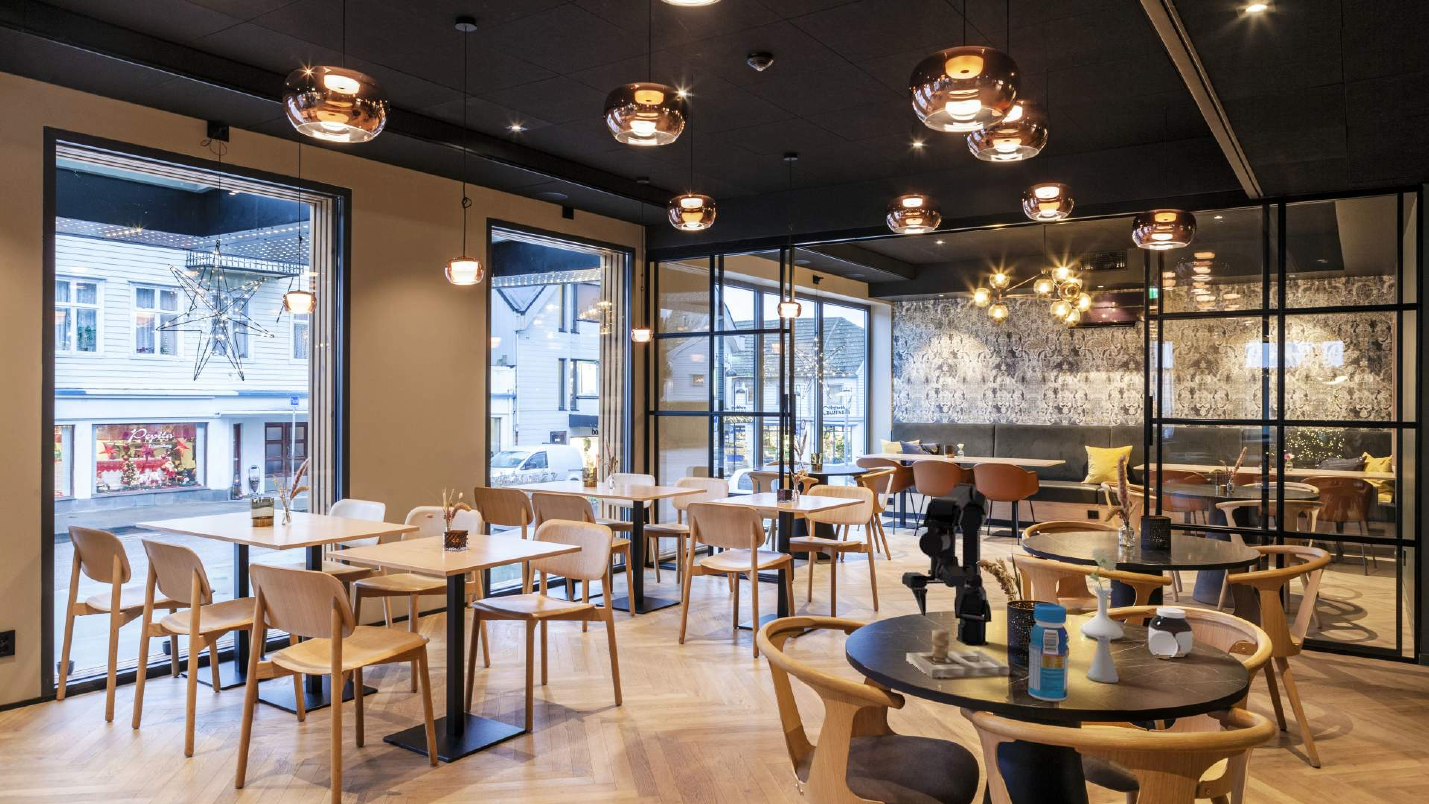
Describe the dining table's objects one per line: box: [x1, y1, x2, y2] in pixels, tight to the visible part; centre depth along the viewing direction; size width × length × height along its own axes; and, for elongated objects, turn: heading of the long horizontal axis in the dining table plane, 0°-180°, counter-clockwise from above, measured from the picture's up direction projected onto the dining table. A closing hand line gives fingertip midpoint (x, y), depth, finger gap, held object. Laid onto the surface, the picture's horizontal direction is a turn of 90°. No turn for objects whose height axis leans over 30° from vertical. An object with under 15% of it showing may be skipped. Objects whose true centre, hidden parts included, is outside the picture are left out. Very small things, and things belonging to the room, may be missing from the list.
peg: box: [931, 628, 950, 663], centre depth 225 cm, size 4×4×9 cm
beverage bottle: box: [1027, 602, 1070, 702], centre depth 206 cm, size 8×8×20 cm
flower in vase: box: [1079, 546, 1125, 640], centre depth 261 cm, size 13×11×25 cm
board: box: [906, 650, 1010, 679], centre depth 226 cm, size 20×14×2 cm
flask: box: [1086, 636, 1120, 684], centre depth 220 cm, size 7×7×10 cm
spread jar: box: [1147, 606, 1194, 657], centre depth 243 cm, size 12×11×12 cm
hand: (941, 615), depth 225 cm, fingers open, 9 cm apart
